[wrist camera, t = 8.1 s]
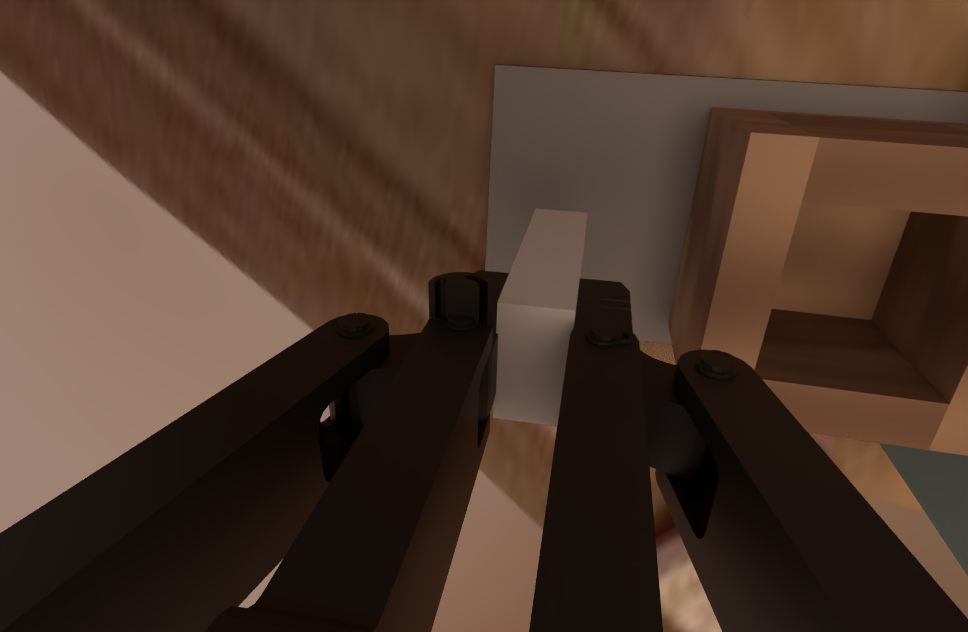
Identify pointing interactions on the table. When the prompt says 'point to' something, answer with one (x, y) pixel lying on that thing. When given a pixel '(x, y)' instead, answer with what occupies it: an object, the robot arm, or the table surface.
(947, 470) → the backstop
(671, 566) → the table surface
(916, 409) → the brown wooden box
